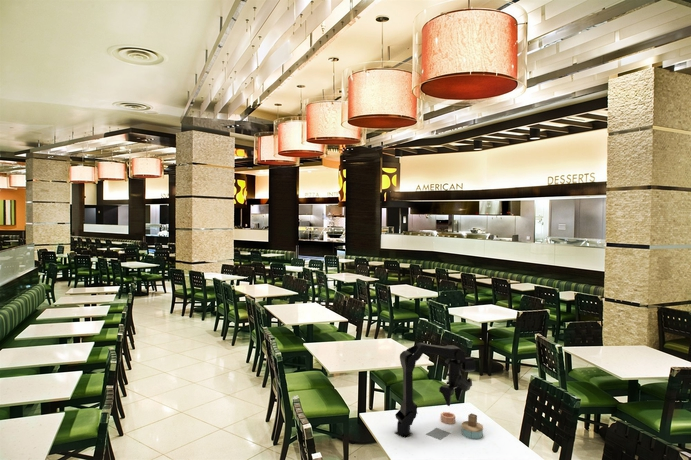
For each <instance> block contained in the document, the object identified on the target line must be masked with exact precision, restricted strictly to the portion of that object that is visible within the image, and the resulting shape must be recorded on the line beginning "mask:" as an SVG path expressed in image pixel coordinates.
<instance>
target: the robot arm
mask: <svg viewBox="0 0 691 460" xmlns="http://www.w3.org/2000/svg"><path fill="white" fill-rule="evenodd" d="M424 353H427V354H433V355H440V356H446V357H448V358H447V359H445V360H444V363H446V364H447V365H448V372H447V373H446V377H448V378H447V381H446V384H443V385H440V386H439V388H438V391H439V393H441V395H442V397H443V399H444V401H445V403H446V405H447V406H448V407H450V405H451V401H452V396H453V395H455V400H456V401H457V402H459V401H460V399H461V395H462V393H463V392H468V391H470V389H471V388H472V386H473V382H472V381H473V380H472V378H471V377H468V378H464V377H463V374H462V373H461V371H462V372H474V371H476V369H477V365H476V362H475V360H474V359H475V358H474V357H473V356H468V357H465V355H464V352H463V349H462V348H460V347H458V346H456V345H454V344H452V345H450V344H449V345H443V346H442V345H436V344H430V343H424V342H417V343H416V344H414V345H413V346H411V347H408V348H407V349H406V350H402V352H401V353H399V360H400V361H399V362H400V365H401V368H402V392H403V394H402V395H403V396H402V401H401V403H400V409H399V410H398V411H397V412H396V413H395V419H396V420H397V424H396V425H397V426H396V427H397V428H396V429H397V430H396V431H395V432H394V434H395V435H398V436H399V437H402V438H408V437H410V436H411V435H413V432H411V426H412V425H413V422H414V420H415V419H416V417H417V415H418V414H419V413H418V405H417V403H415V402H414V397H413V396H414V395H413V394H414V390H413V389H414V385H413V383H414V377H413V375H414V374H413V373H414V369H416V368H415V367H416V363H417V361H419V359H421V358H422V357H423V354H424Z"/></svg>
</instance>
